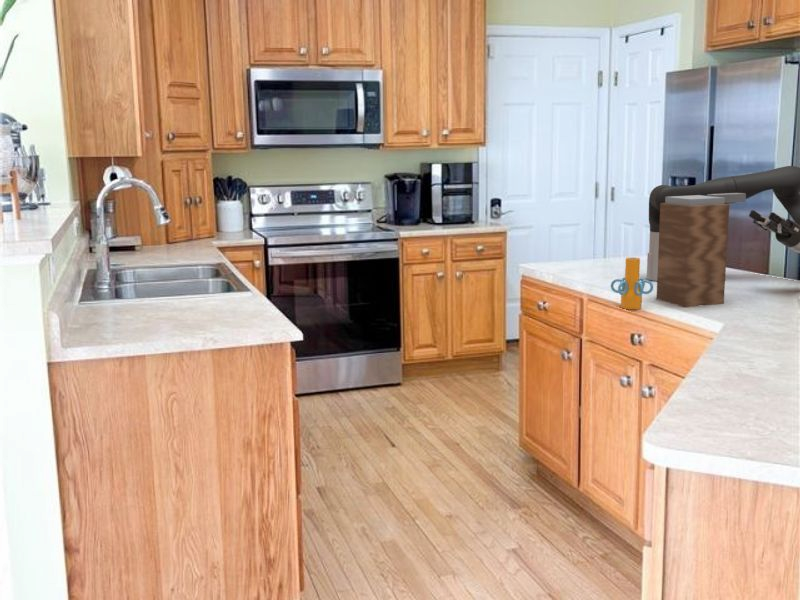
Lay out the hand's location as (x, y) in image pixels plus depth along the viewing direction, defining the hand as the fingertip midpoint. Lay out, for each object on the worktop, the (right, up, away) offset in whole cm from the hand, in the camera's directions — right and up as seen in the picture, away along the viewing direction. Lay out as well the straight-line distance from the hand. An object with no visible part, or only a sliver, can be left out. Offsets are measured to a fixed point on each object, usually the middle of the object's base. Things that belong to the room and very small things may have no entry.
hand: (760, 213), depth 253 cm
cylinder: (-43, -30, -10) cm, 53 cm away
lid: (-18, +3, -7) cm, 20 cm away
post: (-23, -27, -2) cm, 36 cm away
